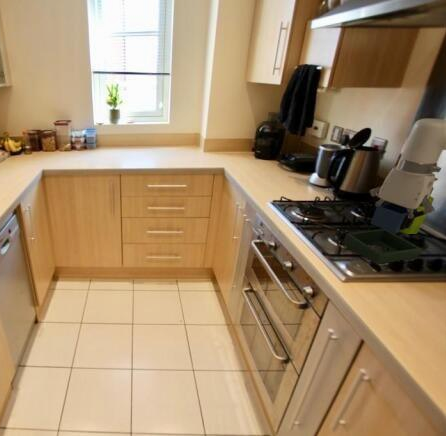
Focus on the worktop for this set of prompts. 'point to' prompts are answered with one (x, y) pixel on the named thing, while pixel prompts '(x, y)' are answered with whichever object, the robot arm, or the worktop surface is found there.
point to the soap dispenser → (418, 218)
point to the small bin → (389, 217)
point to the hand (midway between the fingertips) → (390, 222)
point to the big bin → (383, 238)
